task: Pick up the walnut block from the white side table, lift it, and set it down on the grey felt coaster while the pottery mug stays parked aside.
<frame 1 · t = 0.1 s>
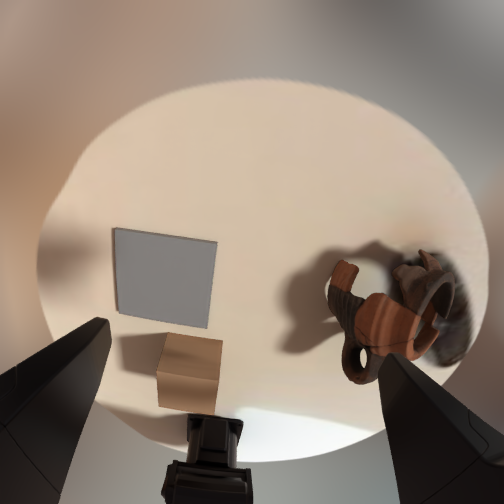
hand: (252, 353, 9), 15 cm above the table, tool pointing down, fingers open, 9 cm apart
pottery mug: (374, 294, 26), on the table
walnut block: (193, 355, 29), on the table
felt coaster: (163, 280, 25), on the table
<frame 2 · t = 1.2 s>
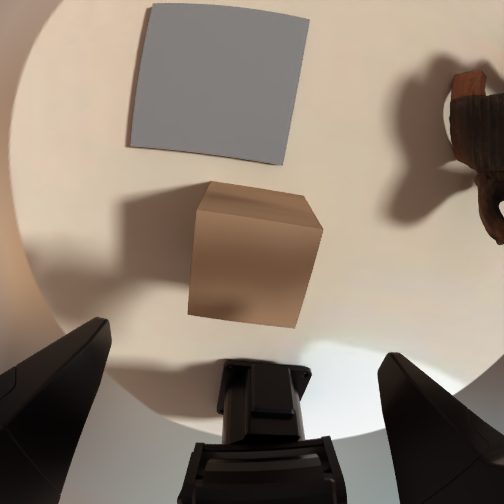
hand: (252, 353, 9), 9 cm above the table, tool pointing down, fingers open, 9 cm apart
pottery mug: (491, 139, 15), on the table
walnut block: (250, 230, 18), on the table
felt coaster: (216, 77, 14), on the table
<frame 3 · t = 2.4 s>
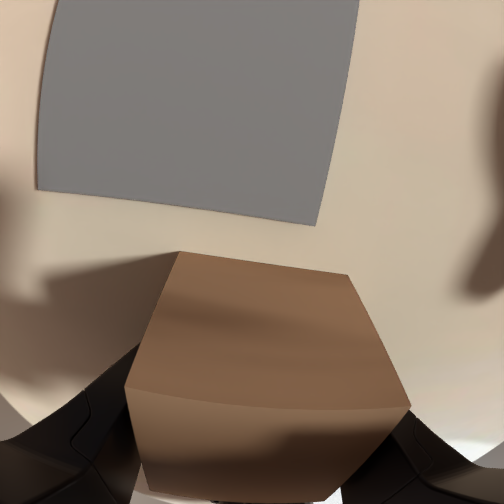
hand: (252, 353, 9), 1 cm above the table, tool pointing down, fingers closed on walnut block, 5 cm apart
walnut block: (252, 331, 10), on the table, touching gripper
felt coaster: (185, 50, 7), on the table
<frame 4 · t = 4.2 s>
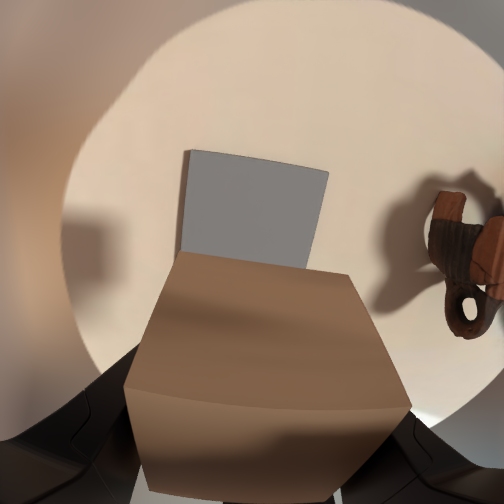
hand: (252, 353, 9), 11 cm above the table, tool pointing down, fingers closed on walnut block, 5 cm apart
pottery mug: (467, 238, 20), on the table
walnut block: (252, 331, 10), point 10 cm above the table, touching gripper
felt coaster: (249, 223, 19), on the table
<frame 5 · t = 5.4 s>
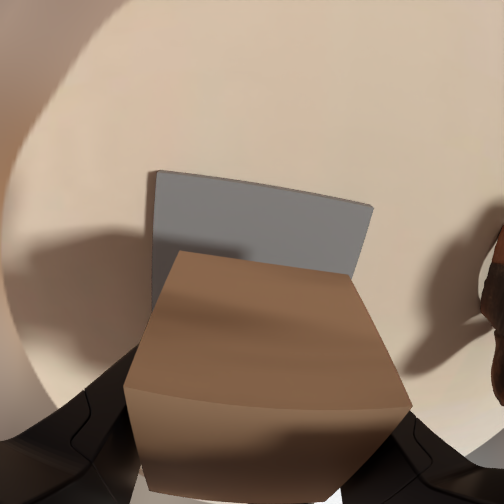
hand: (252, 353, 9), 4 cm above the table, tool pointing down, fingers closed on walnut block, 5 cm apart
walnut block: (252, 330, 10), point 3 cm above the table, touching gripper
felt coaster: (250, 280, 13), on the table
when the fingers open (2 cm above the table, at t = 6.2 s): walnut block drops 1 cm, resting on felt coaster.
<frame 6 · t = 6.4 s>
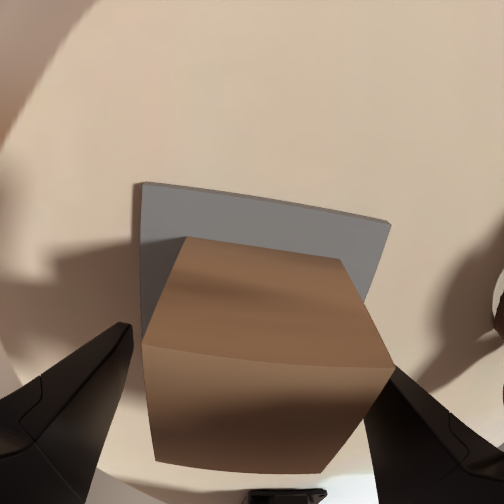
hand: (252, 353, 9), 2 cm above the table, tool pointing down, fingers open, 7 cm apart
walnut block: (252, 311, 11), resting on felt coaster
felt coaster: (251, 305, 11), on the table
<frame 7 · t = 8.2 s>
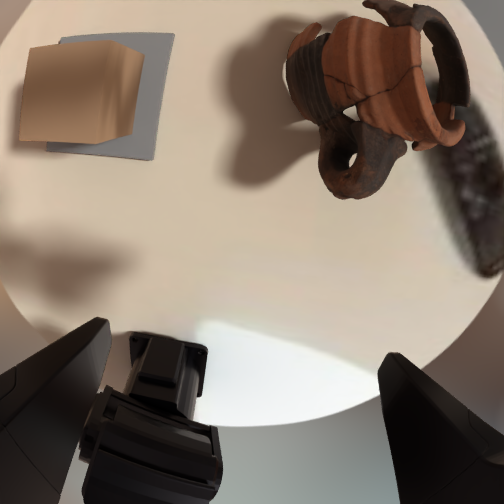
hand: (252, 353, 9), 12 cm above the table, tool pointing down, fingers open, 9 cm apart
pottery mug: (358, 94, 17), on the table
walnut block: (101, 92, 16), resting on felt coaster
felt coaster: (103, 93, 16), on the table
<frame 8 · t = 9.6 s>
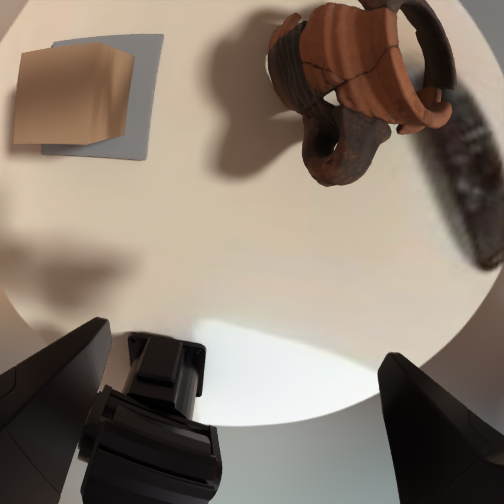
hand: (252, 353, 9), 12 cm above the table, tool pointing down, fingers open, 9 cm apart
pottery mug: (342, 83, 17), on the table
walnut block: (93, 94, 16), resting on felt coaster
felt coaster: (96, 95, 16), on the table
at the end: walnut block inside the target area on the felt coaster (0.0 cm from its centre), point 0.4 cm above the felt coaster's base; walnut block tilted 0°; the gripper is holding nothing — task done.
